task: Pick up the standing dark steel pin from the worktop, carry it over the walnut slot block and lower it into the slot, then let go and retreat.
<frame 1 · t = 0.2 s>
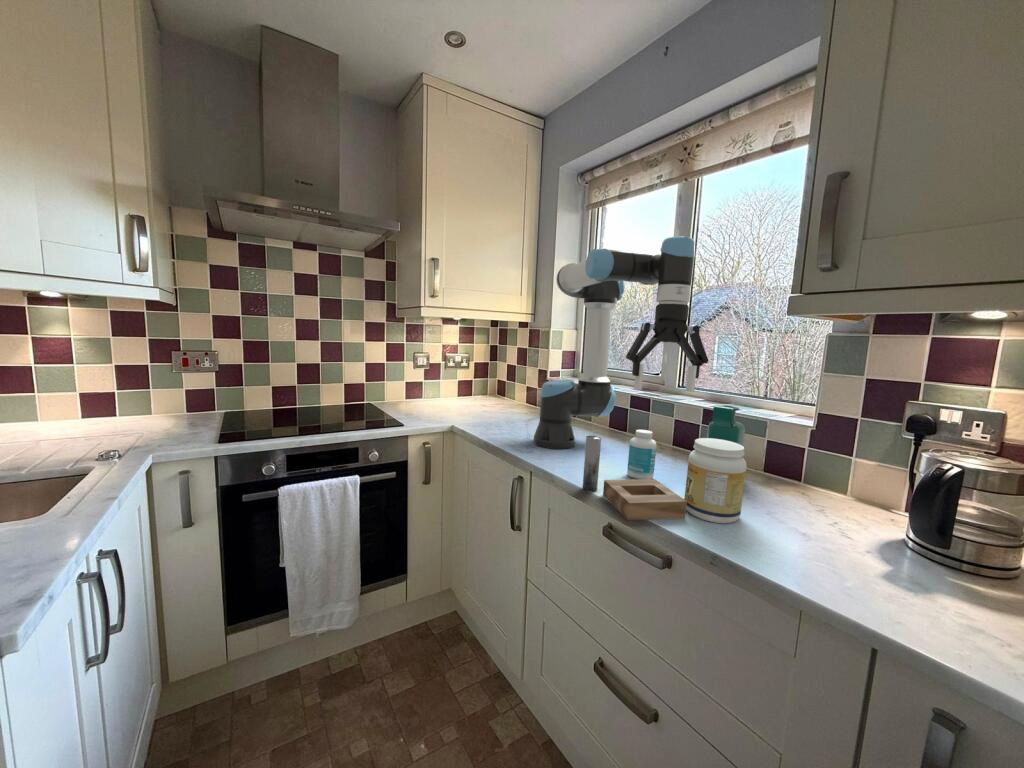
hand: (663, 390, 103), 27 cm above the worktop, fingers open, 13 cm apart
pill bottle: (639, 477, 121), on the worktop
pin: (589, 489, 108), on the worktop
green bottle: (719, 479, 122), on the worktop
supplement tub: (710, 514, 97), on the worktop
slot block: (641, 505, 99), on the worktop
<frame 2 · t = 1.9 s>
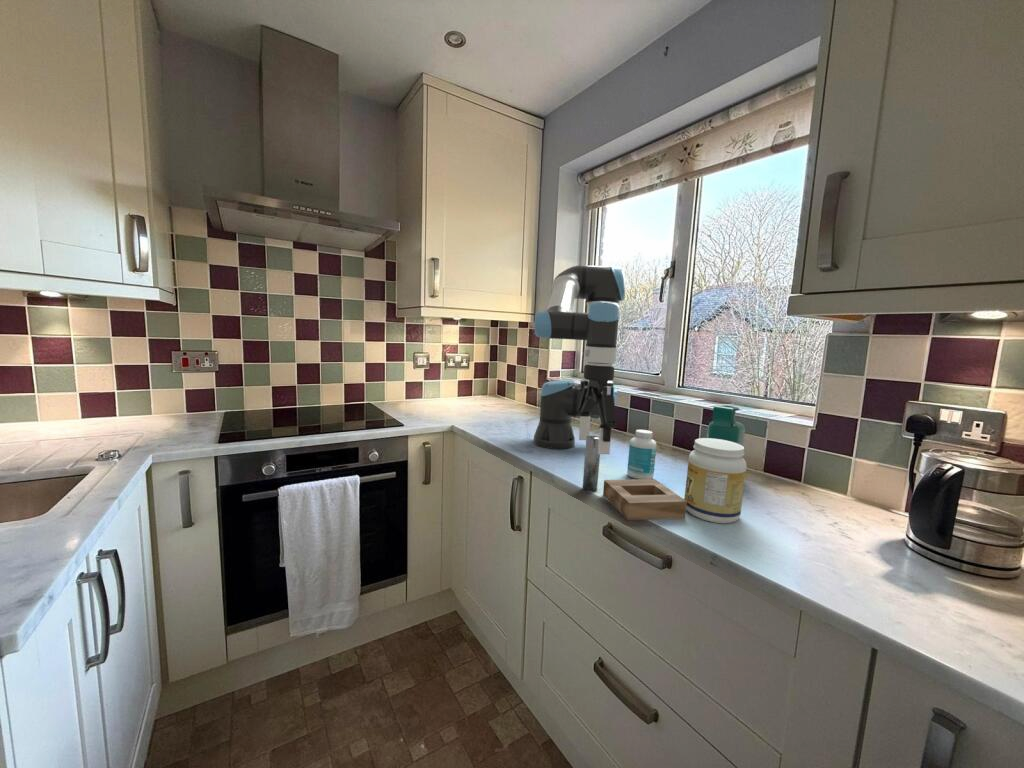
hand: (593, 446, 106), 12 cm above the worktop, fingers open, 13 cm apart
nothing on the worktop moved.
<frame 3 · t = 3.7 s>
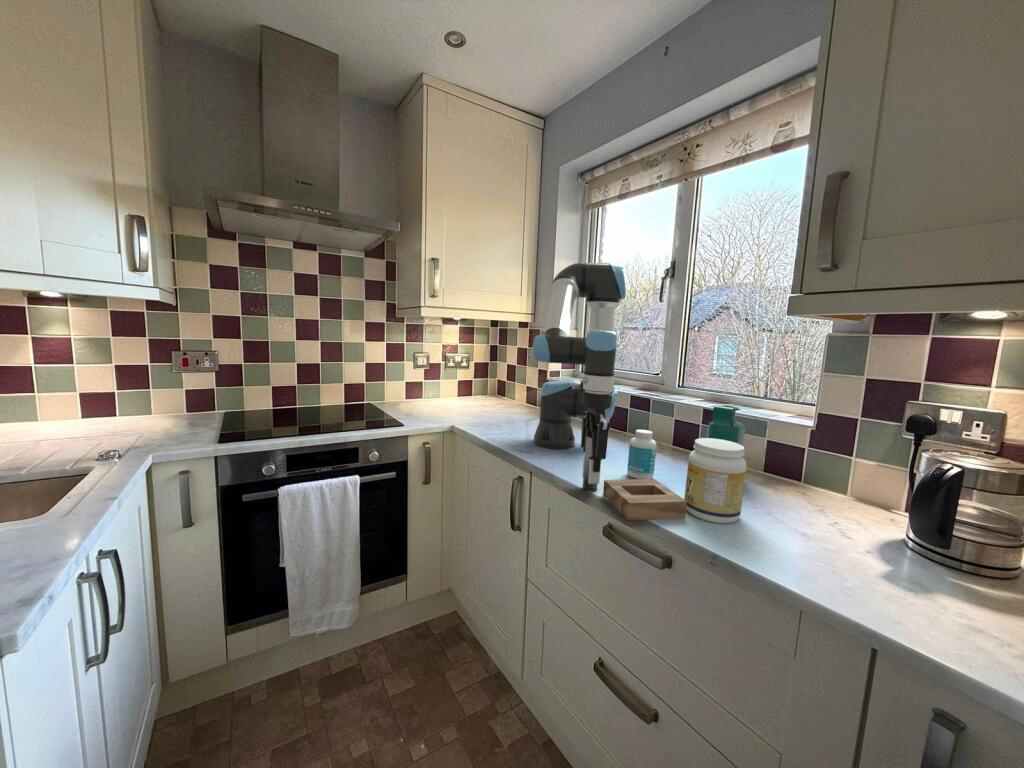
hand: (590, 479, 108), 3 cm above the worktop, fingers closed on pin, 4 cm apart
pin: (589, 489, 108), on the worktop, touching gripper
everything else where it was.
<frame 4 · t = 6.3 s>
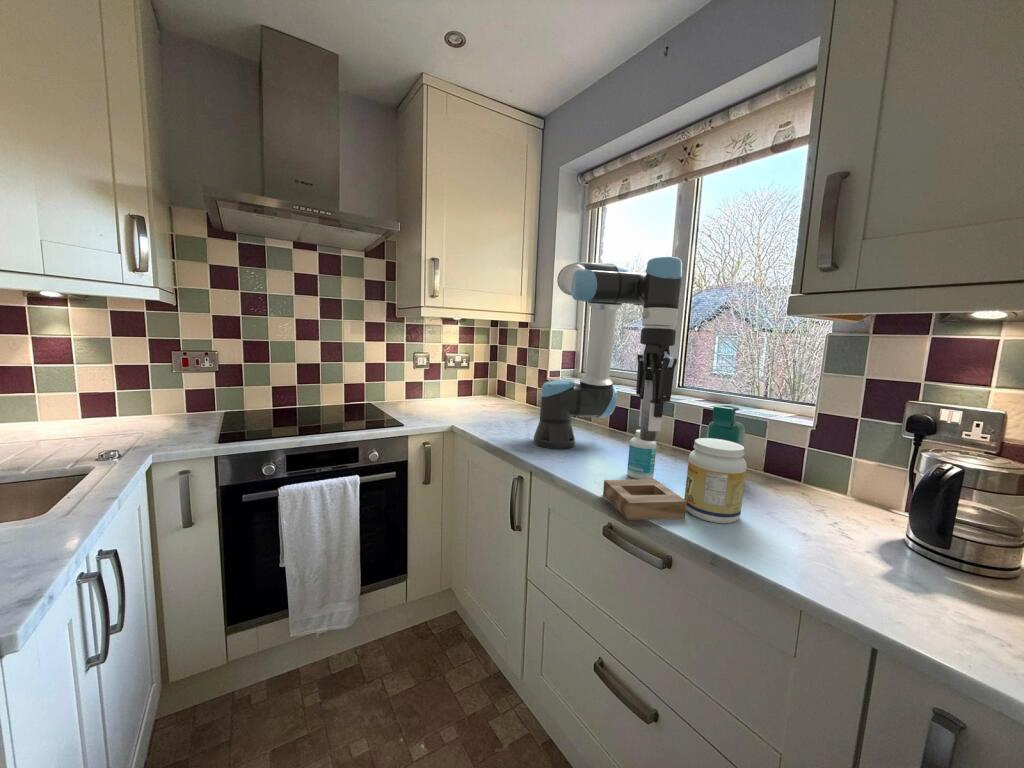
hand: (649, 428, 97), 19 cm above the worktop, fingers closed on pin, 4 cm apart
pin: (648, 439, 97), point 17 cm above the worktop, touching gripper
everything else where it was.
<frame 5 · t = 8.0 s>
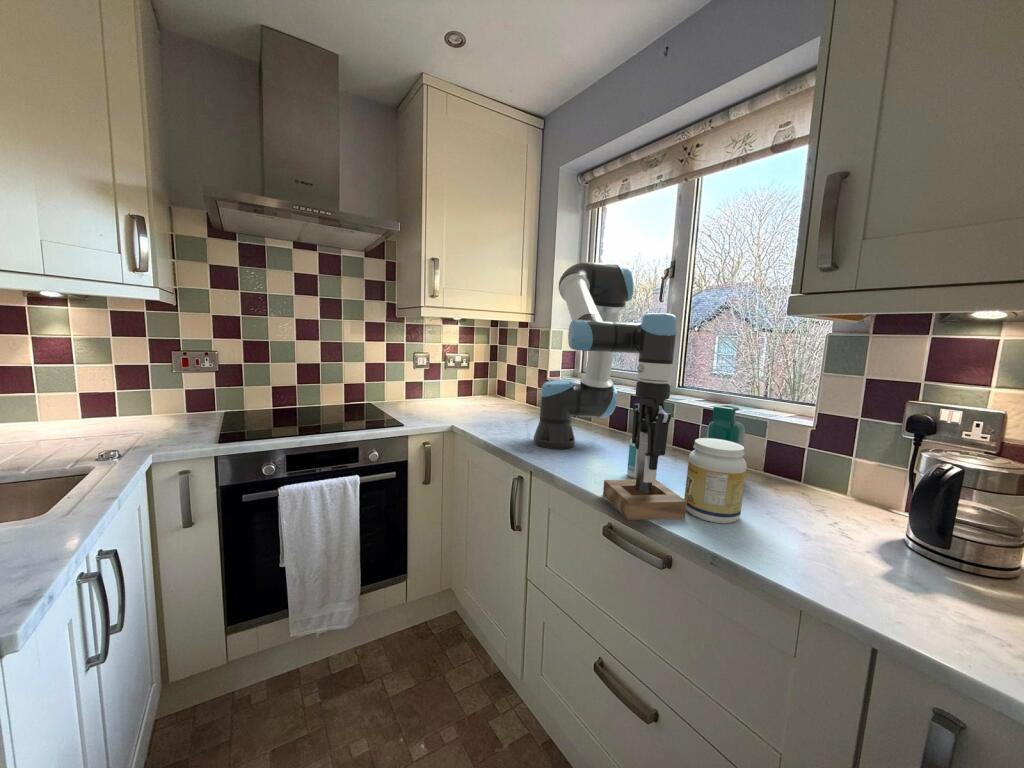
hand: (644, 478, 98), 7 cm above the worktop, fingers closed on pin, 4 cm apart
pin: (643, 489, 99), point 4 cm above the worktop, touching gripper
everything else where it was.
when the fingers open (5 cm above the worktop, at t = 9.2 s): pin drops 2 cm, resting in slot block.
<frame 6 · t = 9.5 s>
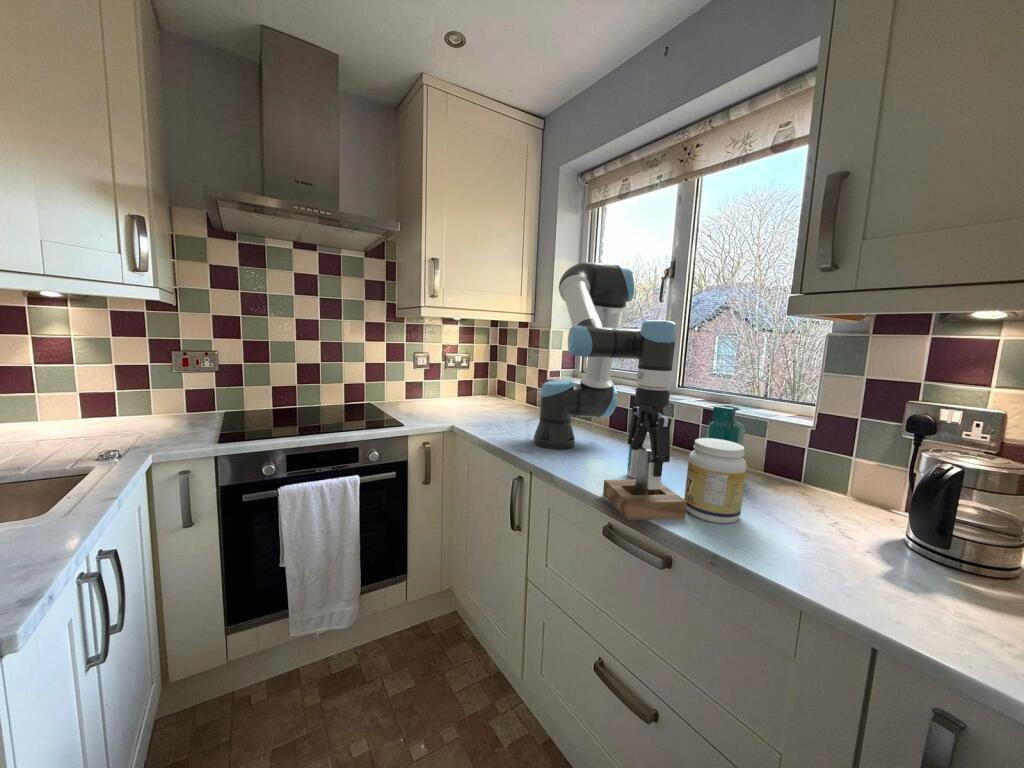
hand: (644, 481, 98), 6 cm above the worktop, fingers open, 8 cm apart
pin: (641, 505, 99), resting in slot block
everything else where it was.
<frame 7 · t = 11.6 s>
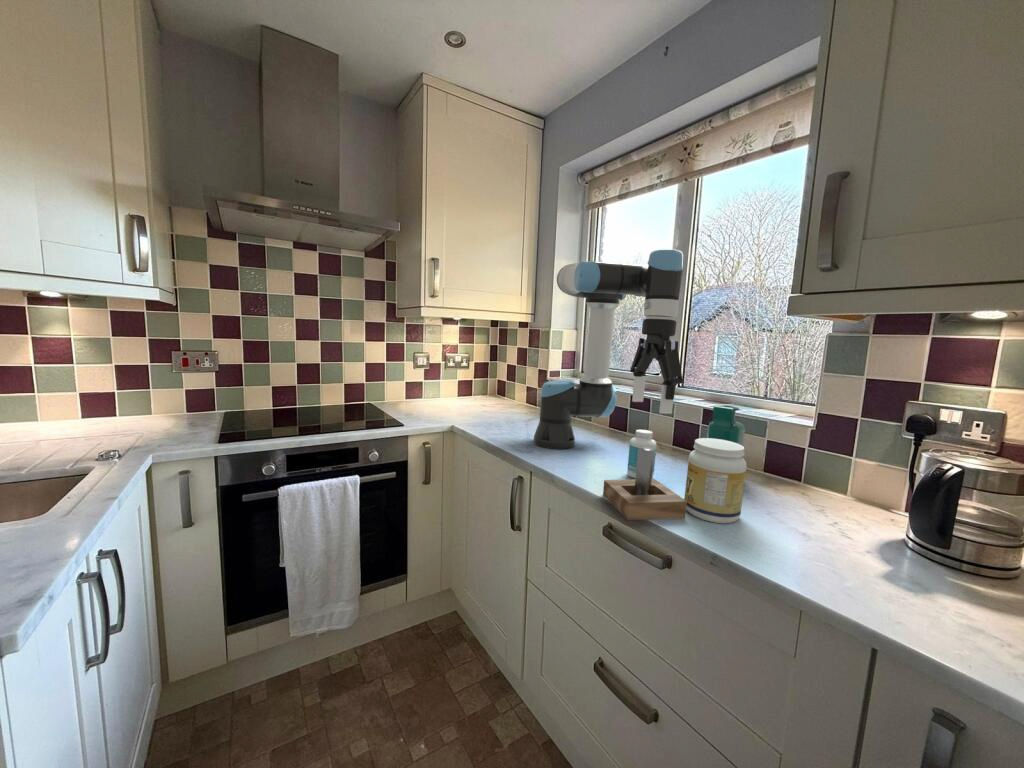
hand: (650, 407, 100), 24 cm above the worktop, fingers open, 13 cm apart
nothing on the worktop moved.
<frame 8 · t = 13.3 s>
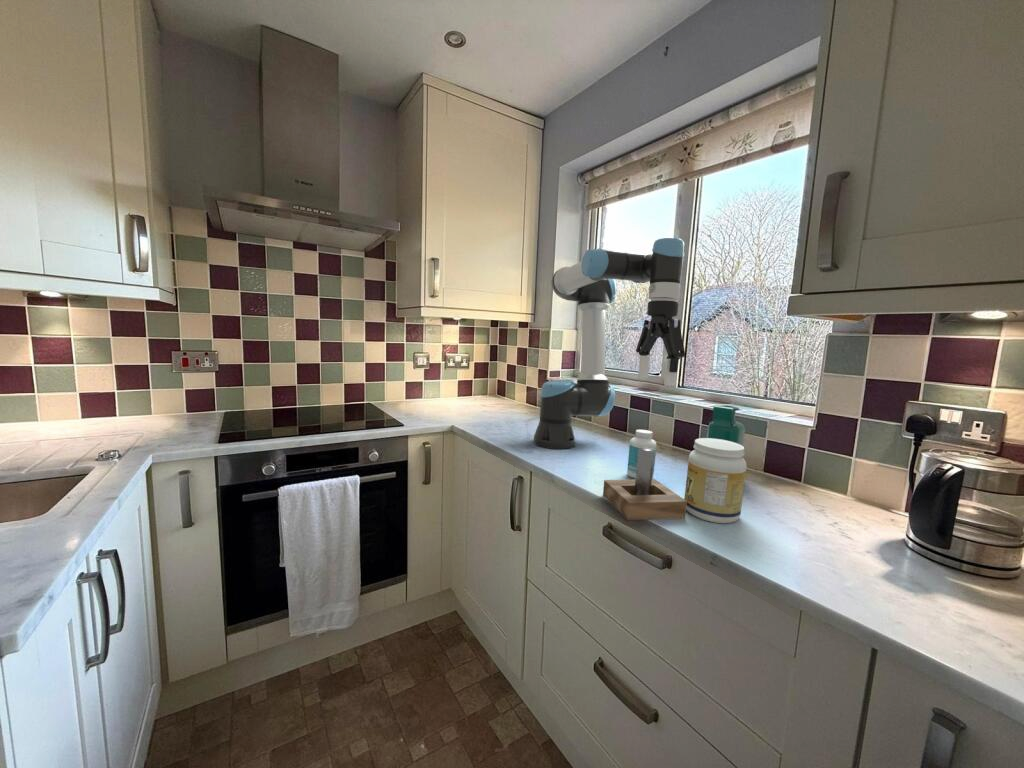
hand: (655, 381, 110), 29 cm above the worktop, fingers open, 13 cm apart
nothing on the worktop moved.
at the end: pin inside the target area on the slot block (0.2 cm from its centre), point 0.0 cm above the slot block's base; the gripper is holding nothing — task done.
